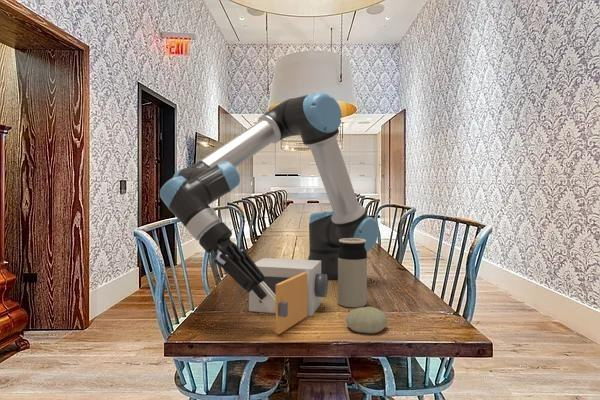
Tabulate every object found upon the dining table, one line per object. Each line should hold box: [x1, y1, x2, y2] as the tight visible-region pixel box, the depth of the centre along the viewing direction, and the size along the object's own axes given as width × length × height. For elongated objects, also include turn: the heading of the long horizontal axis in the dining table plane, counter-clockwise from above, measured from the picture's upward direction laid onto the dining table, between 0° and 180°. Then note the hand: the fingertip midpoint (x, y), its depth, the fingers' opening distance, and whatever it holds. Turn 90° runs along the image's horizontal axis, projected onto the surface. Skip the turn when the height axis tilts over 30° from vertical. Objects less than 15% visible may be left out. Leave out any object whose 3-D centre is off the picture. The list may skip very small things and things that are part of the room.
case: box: [248, 257, 329, 318], centre depth 118 cm, size 19×13×12 cm
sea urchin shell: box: [345, 306, 388, 334], centre depth 102 cm, size 9×8×8 cm
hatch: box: [275, 272, 308, 335], centre depth 103 cm, size 14×2×11 cm, turn 153°
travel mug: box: [337, 238, 368, 309], centre depth 121 cm, size 8×8×18 cm
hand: (276, 306), depth 100 cm, fingers closed
